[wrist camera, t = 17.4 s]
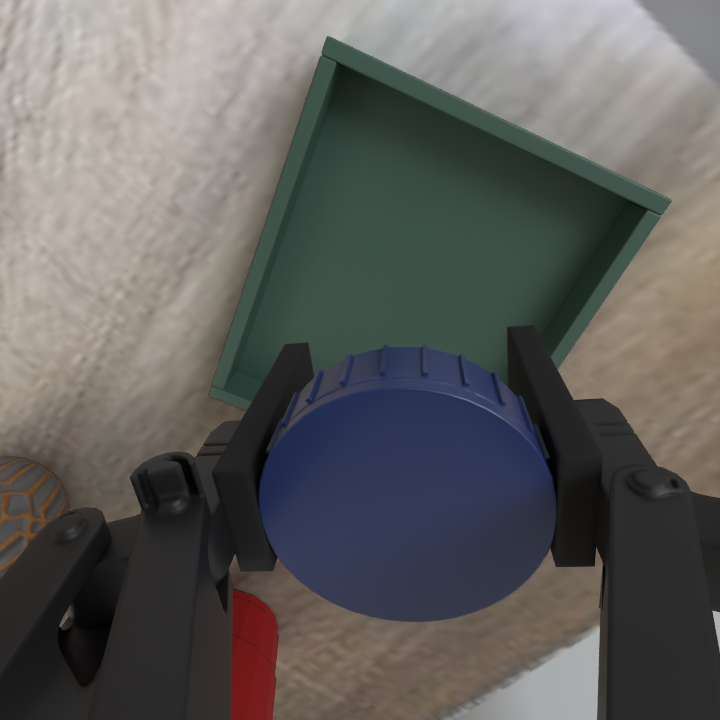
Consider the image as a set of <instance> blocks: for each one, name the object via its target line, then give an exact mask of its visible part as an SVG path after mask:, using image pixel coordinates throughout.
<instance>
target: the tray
mask: <svg viewBox="0 0 720 720" xmlns="http://www.w3.org/2000/svg"><path fill="white" fill-rule="evenodd" d="M322 55H323V56H320V59H319V62H318V65H317V68H316V71H315V74H314V77H313V80H312V83H311V86H310V89H309V92H308V95H307V98H306V101H305V104H304V107H303V110H302V113H301V116H300V119H299V122H298V125H297V128H296V131H295V134H294V137H293V140H292V143H291V146H290V149H289V152H288V155H287V158H286V161H285V164H284V167H283V170H282V173H281V176H280V179H279V182H278V185H277V188H276V191H275V194H274V197H273V200H272V203H271V206H270V210H269V213H268V216H267V219H266V222H265V225H264V228H263V231H262V234H261V237H260V240H259V243H258V246H257V249H256V252H255V255H254V258H253V261H252V264H251V267H250V270H249V273H248V276H247V279H246V282H245V285H244V288H243V291H242V294H241V297H240V300H239V303H238V306H237V309H236V312H235V315H234V318H233V321H232V324H231V327H230V330H229V333H228V336H227V339H226V342H225V345H224V348H223V351H222V354H221V357H220V360H219V363H218V366H217V369H216V372H215V375H214V378H213V382H212V385H211V388H210V391H209V394H208V396H210V397H212V398H215V399H217V400H220V401H222V402H225V403H227V404H230V405H232V406H235V407H237V408H239V409H242V410H244V411H247V410H248V408H249V406H250V404H251V403H252V401H253V399H254V397H255V396H256V394H257V392H258V390H259V389H260V387H261V385H262V383H263V382H264V380H265V378H266V376H267V375H268V373H269V371H270V369H271V368H272V366H273V364H274V362H275V361H276V359H277V357H278V355H279V353H280V352H281V350H282V348H283V346H284V345H285V344H294V343H306V342H308V344H309V350H310V355H311V361H312V366H313V372H314V377H315V374H316V372H317V371H318V370H321V371H322V372H323V371H324V370H326V369H327V368H329V367H331V366H332V365H334V364H336V363H338V362H340V361H342V360H344V359H346V357H347V355H348V354H350V353H352V355H357V354H361V353H364V352H367V351H372V350H378V349H382V348H383V345H389V347H422V345H427V348H428V349H432V350H437V351H442V352H446V353H449V354H452V355H456V356H459V355H460V354H462V355H465V358H466V360H468V361H470V362H472V363H475V364H477V365H479V366H480V367H482V368H483V369H485V370H487V371H488V372H490V373H493V372H494V371H495V372H496V373H497V374H498V376H499V380H500V381H502V382H503V383H504V384H505V385H506V386H507V387H508V359H507V327H511V326H524V325H534V327H535V328H536V330H537V332H538V334H539V336H540V338H541V340H542V342H543V344H544V345H545V347H546V349H547V351H548V353H549V355H550V357H551V359H552V360H553V362H554V364H555V366H556V368H557V370H558V368H559V367H560V365H561V364H562V362H563V361H564V359H565V358H566V356H567V355H568V353H569V352H570V350H571V349H572V348H573V346H574V345H575V343H576V342H577V340H578V339H579V337H580V336H581V334H582V333H583V331H584V330H585V328H586V327H587V325H588V324H589V322H590V321H591V319H592V318H593V317H594V315H595V314H596V312H597V311H598V309H599V308H600V306H601V305H602V303H603V302H604V300H605V299H606V297H607V296H608V294H609V293H610V291H611V290H612V288H613V287H614V285H615V284H616V283H617V281H618V280H619V278H620V277H621V275H622V274H623V272H624V271H625V269H626V268H627V266H628V265H629V263H630V262H631V260H632V259H633V257H634V256H635V254H636V253H637V252H638V250H639V249H640V247H641V246H642V244H643V243H644V241H645V240H646V238H647V237H648V235H649V234H650V232H651V231H652V229H653V228H654V226H655V225H656V223H657V222H658V221H659V219H660V217H661V216H660V215H662V214H663V213H664V212H665V210H666V209H667V207H668V206H669V204H670V203H671V199H669V198H667V197H665V196H663V195H661V194H659V193H657V192H655V191H652V190H650V189H648V188H646V187H644V186H642V185H640V184H638V183H636V182H634V181H632V180H629V179H627V178H625V177H623V176H621V175H619V174H617V173H615V172H613V171H611V170H608V169H606V168H604V167H602V166H600V165H598V164H596V163H594V162H592V161H590V160H588V159H585V158H583V157H581V156H579V155H577V154H575V153H573V152H571V151H569V150H567V149H564V148H562V147H560V146H558V145H556V144H554V143H552V142H550V141H548V140H546V139H543V138H541V137H539V136H537V135H535V134H533V133H531V132H529V131H527V130H525V129H523V128H520V127H518V126H516V125H514V124H512V123H510V122H508V121H506V120H504V119H502V118H499V117H497V116H495V115H493V114H491V113H489V112H487V111H485V110H483V109H481V108H479V107H476V106H474V105H472V104H470V103H468V102H466V101H464V100H462V99H460V98H458V97H455V96H453V95H451V94H449V93H447V92H445V91H443V90H441V89H439V88H437V87H434V86H432V85H430V84H428V83H426V82H424V81H422V80H420V79H418V78H416V77H414V76H411V75H409V74H407V73H405V72H403V71H401V70H399V69H397V68H395V67H393V66H390V65H388V64H386V63H384V62H382V61H380V60H378V59H376V58H374V57H372V56H370V55H367V54H365V53H363V52H361V51H359V50H357V49H355V48H353V47H351V46H349V45H346V44H344V43H342V42H340V41H338V40H336V39H334V38H332V37H330V36H327V38H326V41H325V44H324V47H323V50H322Z"/></svg>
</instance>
